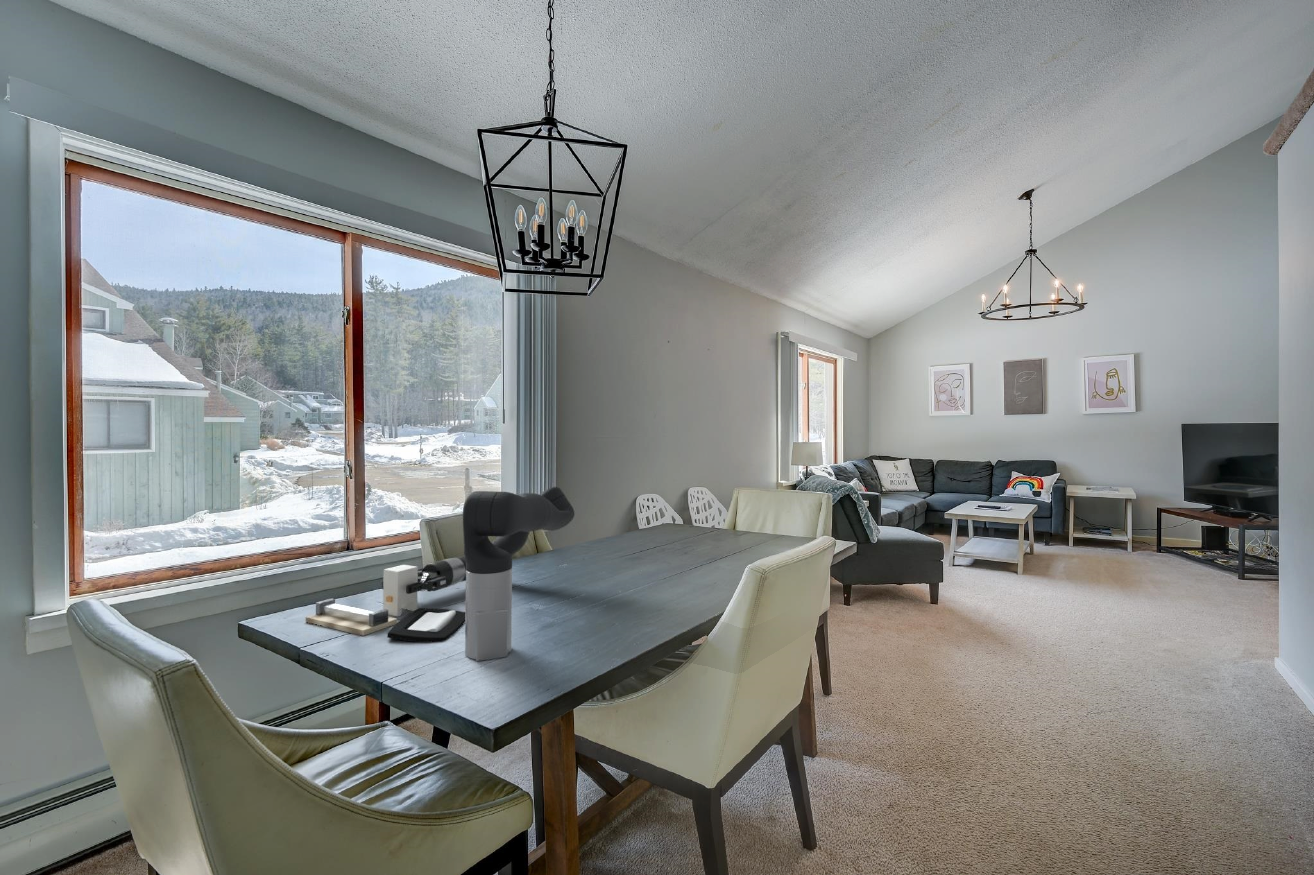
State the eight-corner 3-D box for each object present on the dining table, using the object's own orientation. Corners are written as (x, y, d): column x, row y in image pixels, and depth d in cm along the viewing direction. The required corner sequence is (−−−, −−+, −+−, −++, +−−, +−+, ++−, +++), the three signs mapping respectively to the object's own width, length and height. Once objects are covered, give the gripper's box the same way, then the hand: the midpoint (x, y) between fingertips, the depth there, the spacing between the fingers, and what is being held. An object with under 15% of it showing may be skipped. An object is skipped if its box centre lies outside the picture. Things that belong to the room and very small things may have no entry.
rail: (388, 621, 134) (388, 609, 134) (373, 627, 130) (373, 614, 130) (331, 609, 142) (331, 598, 142) (315, 614, 138) (315, 602, 138)
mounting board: (397, 623, 136) (397, 618, 136) (363, 635, 128) (363, 630, 128) (340, 611, 144) (340, 607, 144) (305, 622, 136) (305, 617, 136)
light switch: (447, 635, 124) (382, 629, 124) (445, 648, 124) (380, 642, 124) (473, 607, 144) (417, 602, 143) (472, 619, 144) (416, 614, 143)
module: (417, 609, 147) (417, 566, 147) (395, 617, 141) (395, 572, 141) (403, 607, 149) (403, 564, 149) (381, 614, 143) (381, 570, 143)
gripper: (463, 590, 155) (415, 606, 140) (425, 584, 161) (374, 598, 147) (463, 562, 155) (415, 575, 140) (425, 557, 161) (374, 569, 147)
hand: (394, 587), depth 144 cm, fingers open, 8 cm apart
